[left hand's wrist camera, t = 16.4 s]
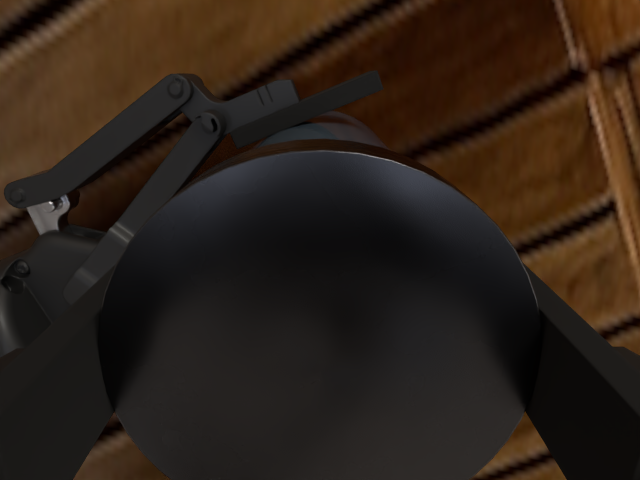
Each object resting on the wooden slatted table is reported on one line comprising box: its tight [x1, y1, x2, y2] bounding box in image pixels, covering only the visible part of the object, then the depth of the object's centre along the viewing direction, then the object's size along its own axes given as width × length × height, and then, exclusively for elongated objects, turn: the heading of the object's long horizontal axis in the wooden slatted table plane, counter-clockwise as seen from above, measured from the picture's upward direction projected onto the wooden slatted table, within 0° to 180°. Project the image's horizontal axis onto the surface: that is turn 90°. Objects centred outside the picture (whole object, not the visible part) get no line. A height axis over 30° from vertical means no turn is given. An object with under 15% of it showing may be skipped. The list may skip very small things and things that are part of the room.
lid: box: [98, 139, 542, 480], centre depth 11 cm, size 10×10×2 cm
